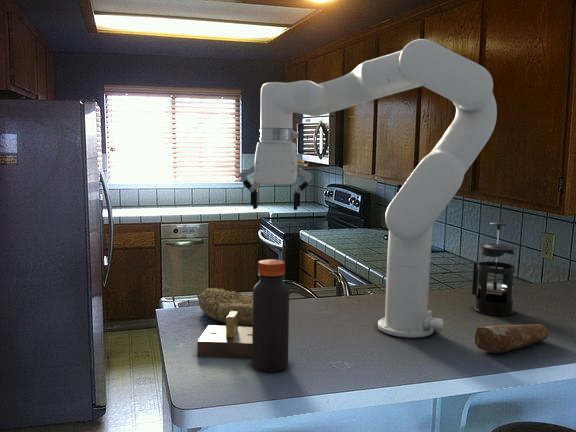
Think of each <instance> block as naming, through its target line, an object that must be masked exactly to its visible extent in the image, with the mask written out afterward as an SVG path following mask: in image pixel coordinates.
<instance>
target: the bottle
mask: <svg viewBox="0 0 576 432" xmlns="http://www.w3.org/2000/svg"><path fill="white" fill-rule="evenodd" d="M285 269H286V262H285V261H284V260H281V259H273V258H271V259H262V260H258V262H257V275H258V276H257V277H259V281H258V282H257V283H256V284H255V285H254V286H253V288H252V298H253V325H252V327H253V335H252V358H251V362H252V363H251V365H252V367H253V368H254V369H255V370H257V371H260V372H264V373H276V372H281V371H283V370H285V369H286V368H287V367H288V365H289V336H290V333H289V328H290V326H289V325H290V319H289V318H290V287H289V285H288V284H286V283H285V282H284V279H283V278H284V277H285V273H286V271H285Z"/></svg>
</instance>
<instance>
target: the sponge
mask: <svg viewBox="0 0 576 432" xmlns="http://www.w3.org/2000/svg"><path fill="white" fill-rule="evenodd" d="M198 306H199V308H200V310H201V311H202V312H203V313H205V315H206V316H207V317H209V318H211V319H213V320H216V321H218V322H221V323H224V324H226V318H227V316H228V315H229V313H230V311H238V326H253V297H252V296H249V295H247V294H245V293H242V292H238V291H234V290H226V289H224V288H222V287H221V288H218V287H211V288H205V290H203V291H202V292H201V293H200V294H199V296H198Z"/></svg>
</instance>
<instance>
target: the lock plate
mask: <svg viewBox="0 0 576 432" xmlns="http://www.w3.org/2000/svg"><path fill="white" fill-rule="evenodd" d="M252 335H253V326H241V325H238V331H237V333H236V334H235V336H234V338H226V325H216V324H215V325H214V324H213V325H211V324H208V325H207V327H206V328H205V330H204V331H203V332H202V334H201V335H200V337H199V338H198V340H197V356H198V357H214V358H215V357H216V358H217V357H218V358H222V357H223V358H240V359H241V358H242V359H252Z"/></svg>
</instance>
